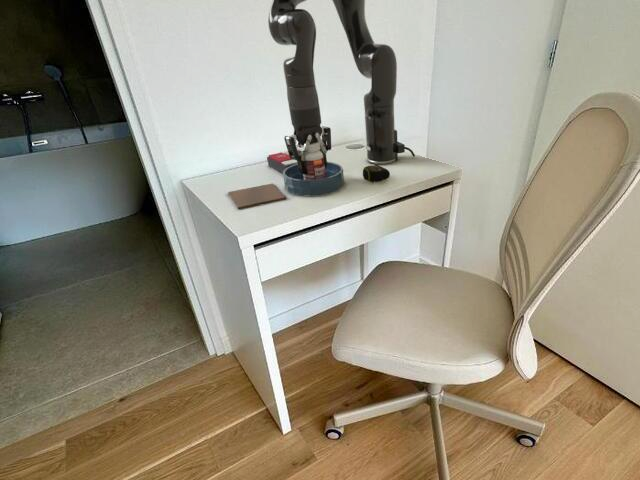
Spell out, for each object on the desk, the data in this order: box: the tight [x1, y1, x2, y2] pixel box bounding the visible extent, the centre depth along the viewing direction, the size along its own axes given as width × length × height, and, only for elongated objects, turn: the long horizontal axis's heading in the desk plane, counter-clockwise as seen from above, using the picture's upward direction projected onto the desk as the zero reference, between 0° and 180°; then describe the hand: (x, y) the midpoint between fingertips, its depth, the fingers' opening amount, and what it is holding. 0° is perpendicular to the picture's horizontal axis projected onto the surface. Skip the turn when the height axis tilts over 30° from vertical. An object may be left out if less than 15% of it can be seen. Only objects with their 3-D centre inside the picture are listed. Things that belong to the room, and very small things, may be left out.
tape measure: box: [362, 164, 391, 183], centre depth 112 cm, size 7×7×4 cm
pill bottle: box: [300, 142, 326, 180], centre depth 106 cm, size 6×6×11 cm
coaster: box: [227, 182, 287, 210], centre depth 103 cm, size 12×12×1 cm
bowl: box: [282, 161, 345, 197], centre depth 108 cm, size 16×16×4 cm
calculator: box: [266, 150, 298, 175], centre depth 121 cm, size 11×4×15 cm
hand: (313, 170), depth 107 cm, fingers closed on pill bottle, 6 cm apart
